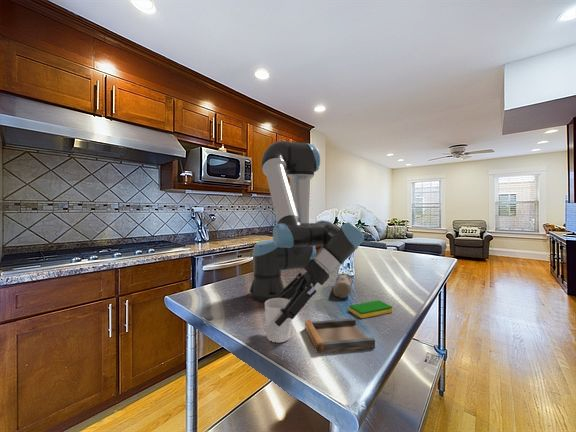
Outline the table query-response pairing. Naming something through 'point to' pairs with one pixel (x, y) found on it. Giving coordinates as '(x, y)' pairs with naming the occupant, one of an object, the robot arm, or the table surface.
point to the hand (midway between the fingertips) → (266, 324)
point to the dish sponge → (370, 309)
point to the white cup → (271, 311)
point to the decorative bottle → (343, 285)
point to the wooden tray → (337, 335)
